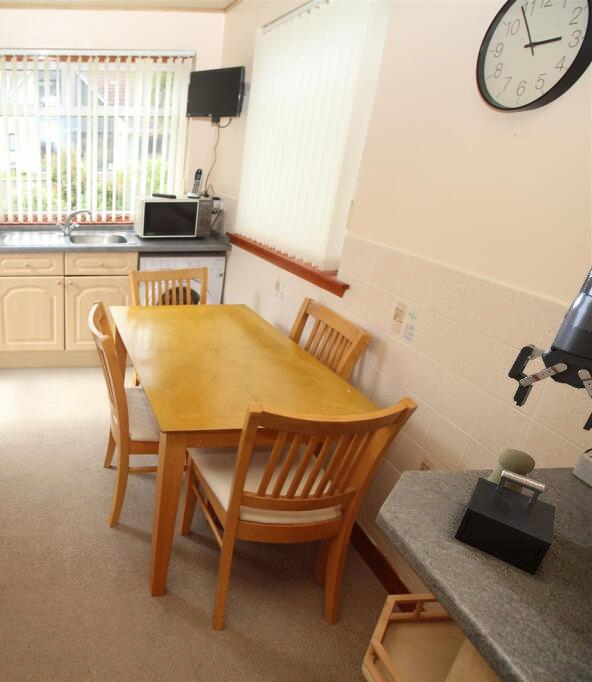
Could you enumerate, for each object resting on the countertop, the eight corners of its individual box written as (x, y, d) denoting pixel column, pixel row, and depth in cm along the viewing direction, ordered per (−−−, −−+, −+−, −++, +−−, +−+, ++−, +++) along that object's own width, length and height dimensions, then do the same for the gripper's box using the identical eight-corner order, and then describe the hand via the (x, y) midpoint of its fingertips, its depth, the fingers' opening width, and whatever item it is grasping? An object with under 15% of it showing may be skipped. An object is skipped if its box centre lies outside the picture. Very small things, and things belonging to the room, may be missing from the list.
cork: (521, 503, 92) (545, 456, 88) (511, 515, 89) (535, 467, 85) (484, 486, 97) (505, 440, 92) (473, 496, 93) (494, 450, 89)
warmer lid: (477, 480, 89) (488, 457, 87) (553, 510, 82) (566, 486, 80) (466, 511, 81) (477, 486, 79) (549, 547, 74) (564, 521, 72)
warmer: (465, 506, 90) (476, 482, 88) (539, 538, 84) (553, 512, 81) (454, 537, 83) (465, 511, 81) (534, 575, 76) (549, 548, 74)
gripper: (671, 336, 69) (617, 431, 75) (545, 308, 80) (507, 393, 86) (661, 345, 65) (605, 444, 71) (529, 314, 76) (491, 402, 82)
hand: (551, 416), depth 79 cm, fingers open, 8 cm apart
